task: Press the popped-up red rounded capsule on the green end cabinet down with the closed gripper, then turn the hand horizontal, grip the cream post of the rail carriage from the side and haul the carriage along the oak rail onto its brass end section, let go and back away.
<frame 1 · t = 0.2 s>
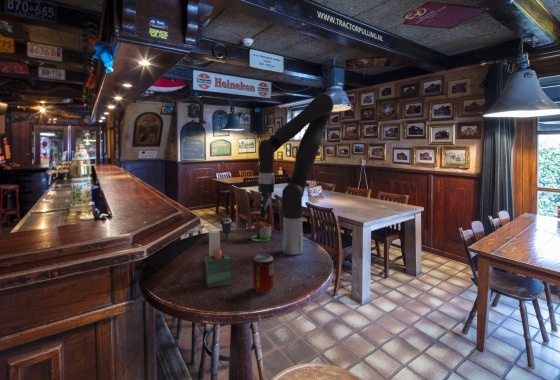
hand: (265, 215, 144), 17 cm above the table, tool pointing down, fingers open, 8 cm apart
toy burger: (260, 239, 165), on the table
red rounded capsule: (217, 257, 109), point 10 cm above the table, slide at 0.0 cm
carriage: (214, 253, 115), point 9 cm above the table, slide at 0.0 cm
soda can: (263, 290, 106), on the table
rail: (215, 276, 116), on the table
sundae: (226, 240, 163), on the table
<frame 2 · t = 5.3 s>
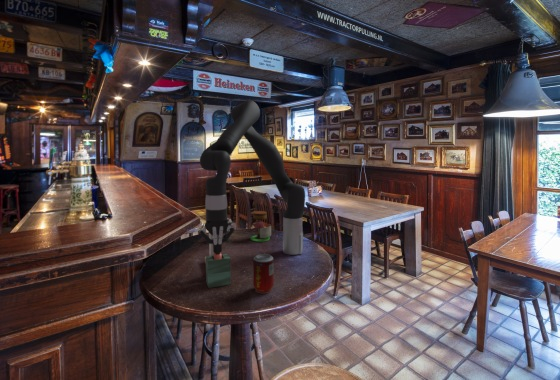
hand: (217, 253, 109), 11 cm above the table, tool pointing down, fingers closed
red rounded capsule: (217, 260, 109), point 9 cm above the table, slide at 1.2 cm, touching gripper
everything else where it was.
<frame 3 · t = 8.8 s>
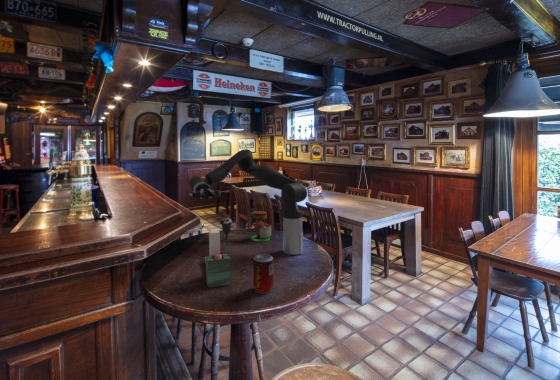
hand: (209, 196, 121), 30 cm above the table, tool horizontal, fingers open, 3 cm apart
red rounded capsule: (217, 261, 109), point 8 cm above the table, slide at 1.8 cm
everything else where it was.
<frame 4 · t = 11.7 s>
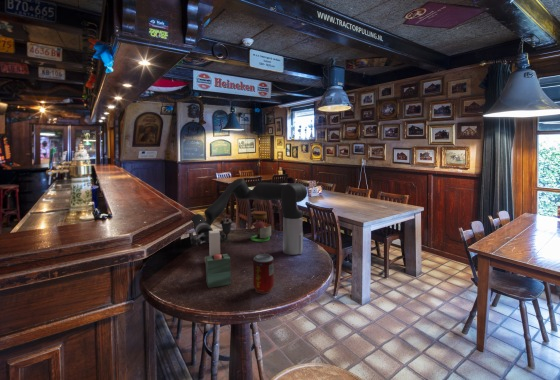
hand: (210, 242, 123), 11 cm above the table, tool horizontal, fingers open, 8 cm apart
nothing on the table moved.
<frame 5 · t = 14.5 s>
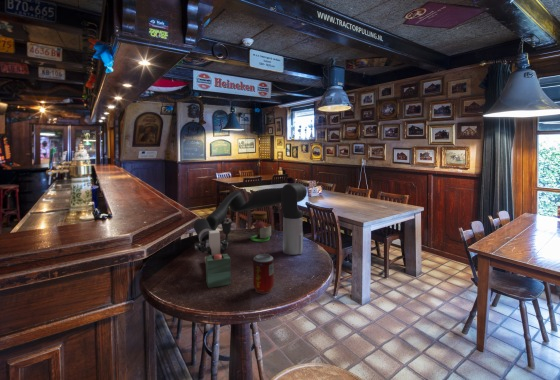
hand: (216, 251, 112), 11 cm above the table, tool horizontal, fingers closed on carriage, 3 cm apart
carriage: (214, 253, 115), point 9 cm above the table, slide at 0.0 cm, touching gripper
everything else where it was.
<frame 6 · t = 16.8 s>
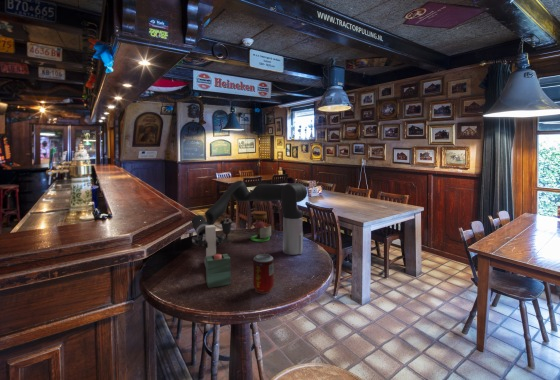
hand: (211, 244, 120), 11 cm above the table, tool horizontal, fingers closed on carriage, 3 cm apart
carriage: (210, 246, 123), point 9 cm above the table, slide at 8.9 cm, touching gripper
everything else where it was.
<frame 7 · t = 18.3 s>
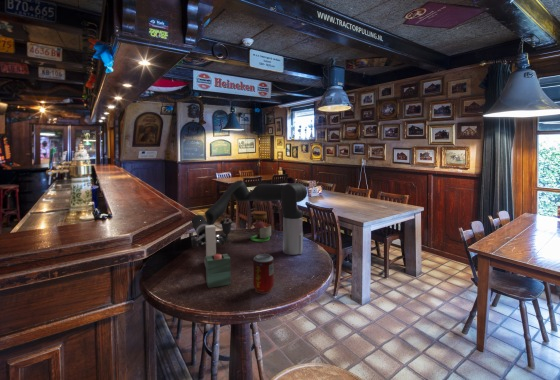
hand: (211, 244, 121), 11 cm above the table, tool horizontal, fingers open, 8 cm apart
carriage: (210, 246, 123), point 9 cm above the table, slide at 9.0 cm
everything else where it was.
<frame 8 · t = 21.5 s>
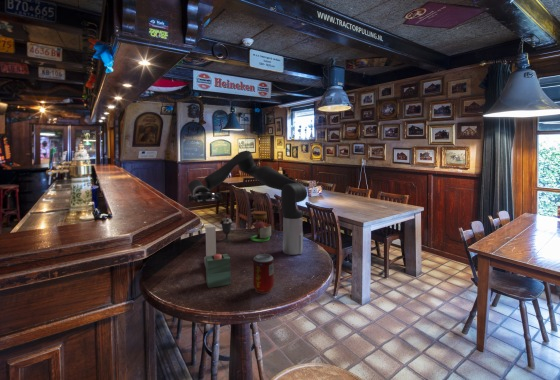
hand: (207, 199, 126), 28 cm above the table, tool horizontal, fingers open, 8 cm apart
nothing on the table moved.
at the end: carriage slide at 9.0 cm; red rounded capsule slide at 1.8 cm; the gripper is holding nothing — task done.
